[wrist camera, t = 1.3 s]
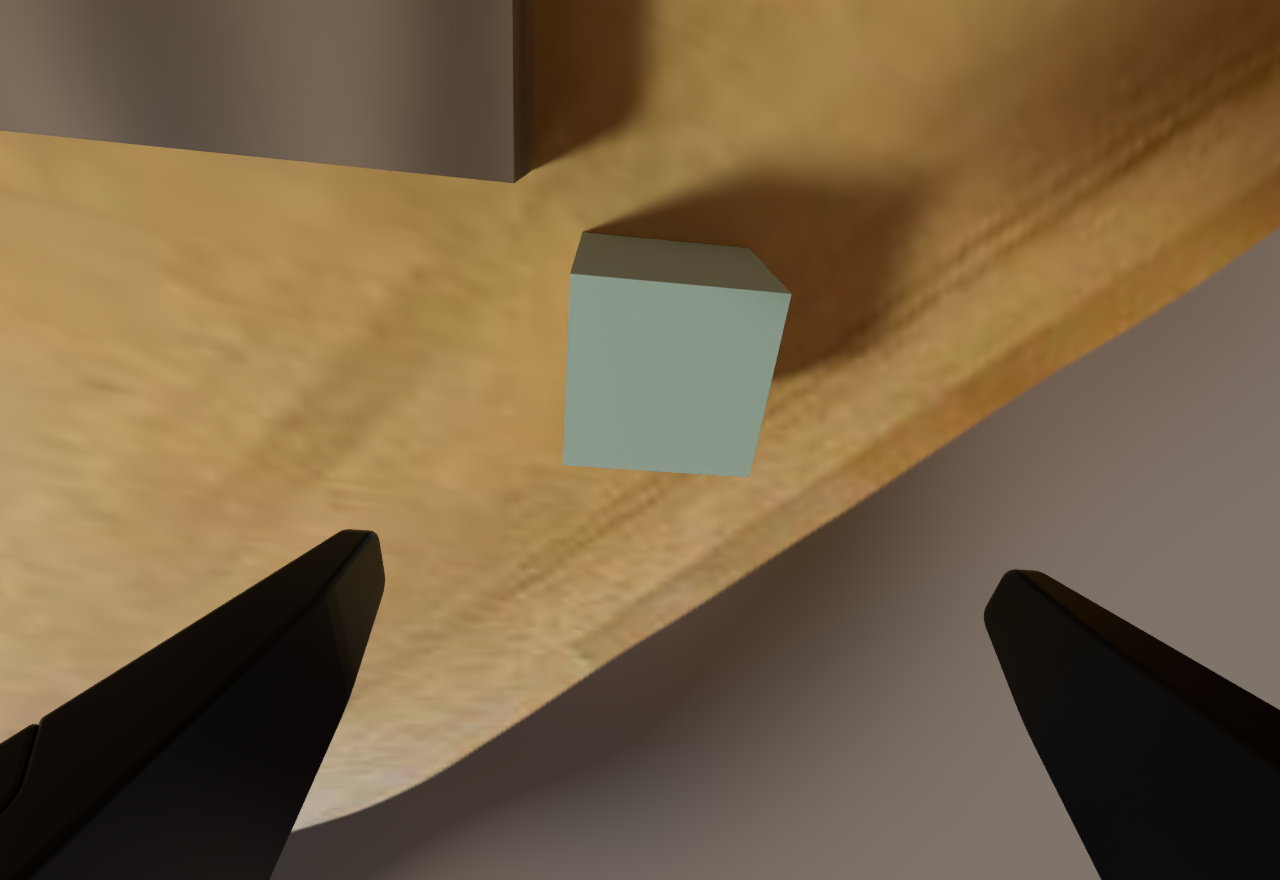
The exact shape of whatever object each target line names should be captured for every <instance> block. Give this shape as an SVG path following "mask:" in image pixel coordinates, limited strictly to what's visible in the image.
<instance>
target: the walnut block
mask: <svg viewBox="0 0 1280 880" xmlns="http://www.w3.org/2000/svg"><path fill="white" fill-rule="evenodd" d="M531 94H532V0H0V130H1V131H11V132H21V133H30V134H40V135H50V136H60V137H69V138H79V139H89V140H99V141H108V142H118V143H128V144H138V145H147V146H157V147H167V148H177V149H186V150H196V151H206V152H216V153H225V154H235V155H245V156H255V157H265V158H274V159H284V160H294V161H304V162H313V163H323V164H333V165H343V166H352V167H362V168H372V169H382V170H391V171H401V172H411V173H421V174H430V175H440V176H450V177H460V178H469V179H479V180H489V181H499V182H508V183H515V182H516V181H518V180H519V179H521V178H522V177H523V176H525V175H526V174H528V173H529V172H530V171H531Z"/></svg>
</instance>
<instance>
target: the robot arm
mask: <svg viewBox="0 0 1280 880" xmlns="http://www.w3.org/2000/svg"><path fill="white" fill-rule="evenodd" d="M384 586H385V573H384V567H383V561H382V554H381V548H380V542H379V538H378V536H377V534H376V533H375V532H373V531H369V530H353V529H347V530H342V531H340V532H338V533H337V534H335V535H333V536H332V537H330V538H329V539H327V540H325V541H324V542H322V543H321V544H319V545H317V546H316V547H314V548H313V549H311V550H309V551H308V552H306V553H305V554H303V555H301V556H300V557H298V558H297V559H295V560H294V561H292V562H290V563H289V564H287V565H286V566H284V567H282V568H281V569H279V570H278V571H276V572H274V573H273V574H271V575H270V576H268V577H266V578H265V579H263V580H262V581H260V582H258V583H257V584H255V585H254V586H252V587H250V588H249V589H247V590H246V591H244V592H242V593H241V594H239V595H238V596H236V597H234V598H233V599H231V600H230V601H228V602H226V603H225V604H223V605H222V606H220V607H218V608H217V609H215V610H214V611H212V612H210V613H209V614H207V615H206V616H204V617H202V618H201V619H199V620H198V621H196V622H194V623H193V624H191V625H190V626H188V627H186V628H185V629H183V630H182V631H180V632H178V633H177V634H175V635H174V636H172V637H170V638H169V639H167V640H166V641H164V642H162V643H161V644H159V645H158V646H156V647H154V648H153V649H151V650H150V651H148V652H146V653H145V654H143V655H142V656H140V657H138V658H137V659H135V660H134V661H132V662H130V663H129V664H127V665H126V666H124V667H122V668H121V669H119V670H118V671H116V672H114V673H113V674H111V675H110V676H108V677H106V678H105V679H103V680H102V681H100V682H98V683H97V684H95V685H94V686H92V687H90V688H89V689H87V690H86V691H84V692H83V693H81V694H79V695H78V696H76V697H75V698H73V699H71V700H70V701H68V702H67V703H65V704H63V705H62V706H60V707H59V708H57V709H55V710H54V711H52V712H50V713H49V714H47V715H46V716H44V717H43V718H42V719H41V720H40V722H39V725H37V724H32V725H29V726H28V727H26V728H24V729H23V730H21V731H20V732H18V733H17V734H15V735H13V736H12V737H10V738H9V739H7V740H5V741H4V742H2V743H1V744H0V880H270V878H271V875H272V873H273V871H274V869H275V866H276V864H277V862H278V860H279V857H280V855H281V853H282V851H283V848H284V846H285V844H286V842H287V839H288V837H289V835H290V833H291V830H292V828H293V826H294V824H295V821H296V819H297V817H298V815H299V812H300V810H301V808H302V806H303V803H304V801H305V799H306V797H307V794H308V792H309V790H310V788H311V785H312V783H313V781H314V779H315V776H316V774H317V772H318V770H319V767H320V765H321V763H322V761H323V758H324V756H325V754H326V752H327V749H328V747H329V745H330V743H331V740H332V738H333V736H334V734H335V731H336V729H337V727H338V725H339V722H340V720H341V718H342V715H343V713H344V710H345V708H346V706H347V703H348V701H349V698H350V695H351V692H352V689H353V687H354V684H355V681H356V678H357V674H358V671H359V668H360V665H361V662H362V659H363V655H364V652H365V649H366V646H367V643H368V640H369V636H370V633H371V630H372V627H373V624H374V621H375V618H376V614H377V611H378V608H379V605H380V602H381V599H382V595H383V592H384ZM984 622H985V626H986V629H987V632H988V634H989V637H990V639H991V642H992V644H993V647H994V650H995V652H996V655H997V657H998V660H999V662H1000V665H1001V668H1002V670H1003V673H1004V675H1005V678H1006V680H1007V683H1008V685H1009V688H1010V690H1011V693H1012V696H1013V698H1014V701H1015V703H1016V706H1017V708H1018V711H1019V713H1020V716H1021V718H1022V720H1023V723H1024V725H1025V727H1026V729H1027V731H1028V734H1029V736H1030V737H1031V740H1032V742H1033V744H1034V746H1035V748H1036V750H1037V752H1038V754H1039V756H1040V758H1041V760H1042V762H1043V764H1044V766H1045V768H1046V770H1047V772H1048V774H1049V776H1050V778H1051V780H1052V782H1053V784H1054V786H1055V788H1056V790H1057V792H1058V794H1059V796H1060V798H1061V800H1062V802H1063V804H1064V806H1065V808H1066V810H1067V812H1068V814H1069V816H1070V818H1071V820H1072V822H1073V824H1074V826H1075V828H1076V830H1077V832H1078V834H1079V836H1080V838H1081V840H1082V842H1083V844H1084V846H1085V848H1086V850H1087V852H1088V854H1089V856H1090V858H1091V860H1092V862H1093V864H1094V866H1095V868H1096V870H1097V872H1098V874H1099V876H1100V878H1101V880H1280V710H1279V709H1277V708H1275V707H1274V706H1272V705H1270V704H1269V703H1267V702H1265V701H1263V700H1262V699H1260V698H1258V697H1256V696H1255V695H1253V694H1251V693H1250V692H1248V691H1246V690H1244V689H1242V688H1241V687H1239V686H1237V685H1236V684H1234V683H1232V682H1230V681H1229V680H1227V679H1225V678H1224V677H1222V676H1220V675H1218V674H1217V673H1215V672H1213V671H1211V670H1210V669H1208V668H1206V667H1205V666H1203V665H1201V664H1199V663H1198V662H1196V661H1194V660H1192V659H1191V658H1189V657H1187V656H1186V655H1184V654H1182V653H1180V652H1178V651H1177V650H1175V649H1174V648H1172V647H1170V646H1168V645H1167V644H1165V643H1163V642H1161V641H1160V640H1158V639H1156V638H1155V637H1153V636H1151V635H1149V634H1147V633H1146V632H1144V631H1142V630H1141V629H1139V628H1137V627H1135V626H1134V625H1132V624H1130V623H1129V622H1127V621H1125V620H1123V619H1122V618H1120V617H1118V616H1117V615H1115V614H1113V613H1111V612H1110V611H1108V610H1106V609H1104V608H1103V607H1101V606H1099V605H1098V604H1096V603H1094V602H1092V601H1091V600H1089V599H1087V598H1085V597H1084V596H1082V595H1080V594H1079V593H1077V592H1075V591H1073V590H1072V589H1070V588H1068V587H1066V586H1065V585H1063V584H1061V583H1060V582H1058V581H1056V580H1054V579H1053V578H1051V577H1049V576H1047V575H1046V574H1044V573H1042V572H1039V571H1033V570H1017V569H1015V570H1009V571H1008V572H1007V573H1005V574H1004V576H1003V577H1002V579H1001V580H1000V582H999V584H998V586H997V588H996V590H995V591H994V593H993V595H992V597H991V598H990V600H989V602H988V604H987V606H986V608H985V611H984Z"/></svg>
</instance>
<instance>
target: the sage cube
mask: <svg viewBox="0 0 1280 880" xmlns="http://www.w3.org/2000/svg"><path fill="white" fill-rule="evenodd" d="M791 295H792V294H791V293H790V292H789V291H788V289H787V288H786V287H785V286H784V285H783V284H782V283H781V282H780V281H779V280H778V279H777V278H776V276H775V275H774V274H773V273H772V272H771V271H770V270H769V269H768V268H767V267H766V266H765V265H764V264H763V262H762V261H761V260H760V259H759V258H758V257H757V256H756V255H755V254H754V253H753V252H752V251H751V250H750V248H742V247H731V246H721V245H711V244H701V243H690V242H680V241H670V240H659V239H649V238H639V237H628V236H618V235H608V234H597V233H587V232H582V236H581V239H580V243H579V246H578V249H577V253H576V256H575V259H574V263H573V266H572V269H571V273H570V293H569V319H568V345H567V372H566V398H565V424H564V451H563V465H570V466H585V467H600V468H615V469H630V470H645V471H661V472H676V473H691V474H706V475H721V476H736V477H749V476H750V472H751V468H752V463H753V459H754V455H755V450H756V446H757V442H758V438H759V433H760V429H761V425H762V420H763V416H764V412H765V407H766V403H767V399H768V394H769V390H770V386H771V381H772V377H773V373H774V368H775V364H776V360H777V355H778V351H779V347H780V342H781V338H782V334H783V329H784V325H785V321H786V316H787V312H788V308H789V303H790V299H791Z"/></svg>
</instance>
